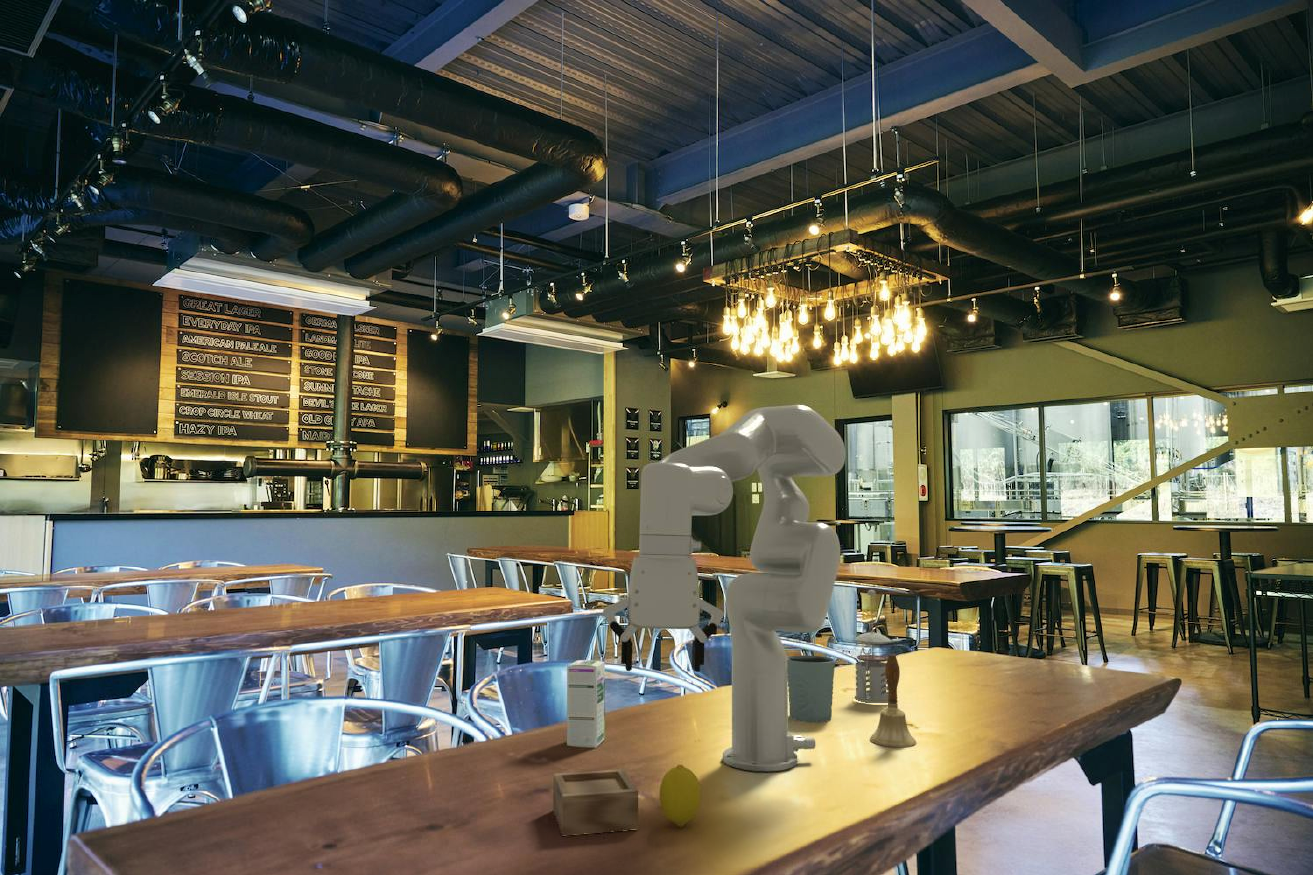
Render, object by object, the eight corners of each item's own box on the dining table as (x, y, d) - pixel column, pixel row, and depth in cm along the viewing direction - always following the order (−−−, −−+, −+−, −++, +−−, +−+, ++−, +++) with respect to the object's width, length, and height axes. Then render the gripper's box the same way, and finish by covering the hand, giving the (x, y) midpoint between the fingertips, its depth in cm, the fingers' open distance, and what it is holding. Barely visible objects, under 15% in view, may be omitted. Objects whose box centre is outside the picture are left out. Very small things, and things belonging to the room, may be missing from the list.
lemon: (657, 819, 114) (657, 759, 115) (697, 818, 114) (697, 758, 115) (661, 834, 109) (661, 771, 109) (703, 833, 109) (703, 770, 110)
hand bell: (924, 741, 155) (922, 654, 157) (903, 750, 149) (901, 659, 151) (883, 733, 161) (881, 649, 163) (861, 741, 155) (860, 654, 157)
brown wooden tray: (622, 804, 120) (623, 768, 120) (638, 830, 110) (638, 790, 110) (553, 810, 117) (553, 773, 118) (562, 836, 108) (563, 796, 108)
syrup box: (596, 748, 149) (598, 665, 151) (565, 746, 150) (566, 664, 152) (605, 740, 155) (606, 660, 156) (574, 738, 156) (575, 658, 157)
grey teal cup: (781, 720, 171) (780, 660, 172) (792, 709, 180) (791, 653, 182) (830, 725, 167) (830, 663, 168) (839, 714, 177) (838, 656, 178)
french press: (901, 699, 191) (899, 589, 194) (886, 709, 182) (883, 592, 184) (859, 694, 197) (857, 587, 199) (842, 703, 187) (840, 590, 189)
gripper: (719, 549, 125) (717, 666, 123) (604, 546, 123) (600, 665, 121) (729, 550, 118) (727, 674, 115) (606, 547, 116) (602, 673, 114)
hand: (662, 669), depth 118 cm, fingers open, 9 cm apart
